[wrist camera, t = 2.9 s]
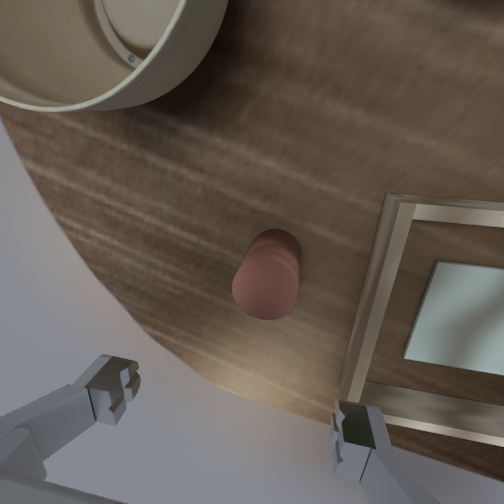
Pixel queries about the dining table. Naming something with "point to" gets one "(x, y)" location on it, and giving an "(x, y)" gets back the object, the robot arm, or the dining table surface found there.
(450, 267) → the corral
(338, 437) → the robot arm
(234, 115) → the dining table surface
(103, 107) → the planter bowl
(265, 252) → the reddish pink cylinder
